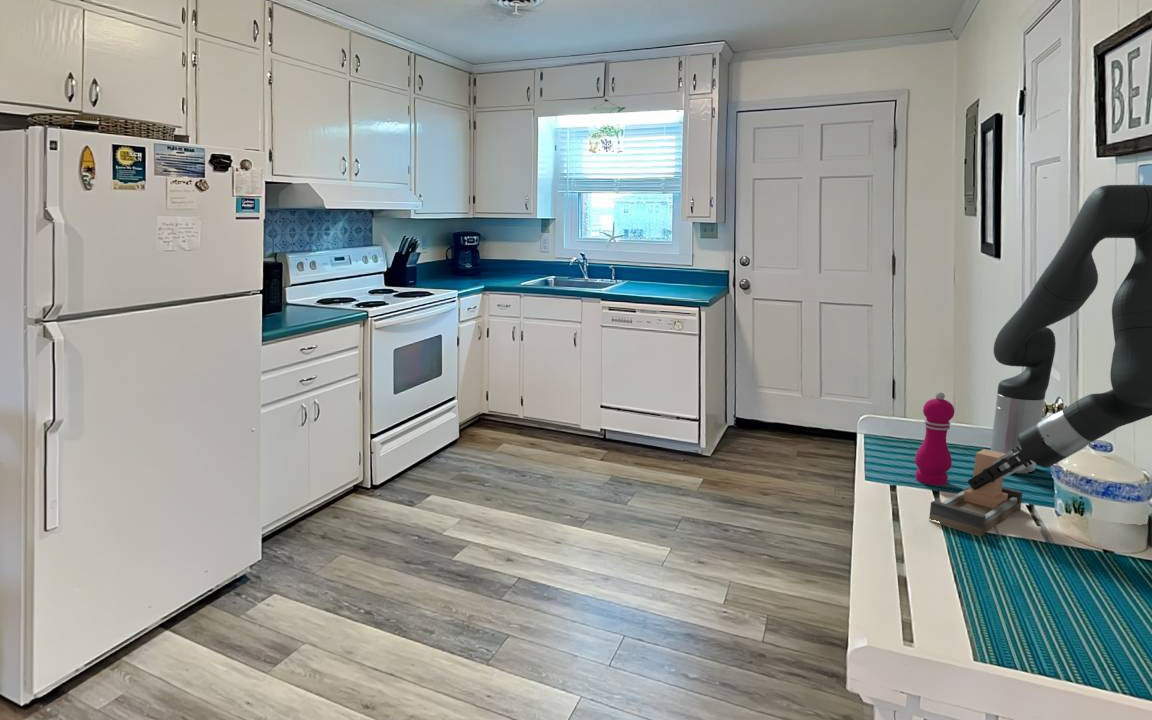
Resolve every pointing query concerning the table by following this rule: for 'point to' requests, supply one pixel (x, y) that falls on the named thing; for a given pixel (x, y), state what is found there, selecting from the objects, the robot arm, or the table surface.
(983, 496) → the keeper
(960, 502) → the track
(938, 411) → the pepper mill
